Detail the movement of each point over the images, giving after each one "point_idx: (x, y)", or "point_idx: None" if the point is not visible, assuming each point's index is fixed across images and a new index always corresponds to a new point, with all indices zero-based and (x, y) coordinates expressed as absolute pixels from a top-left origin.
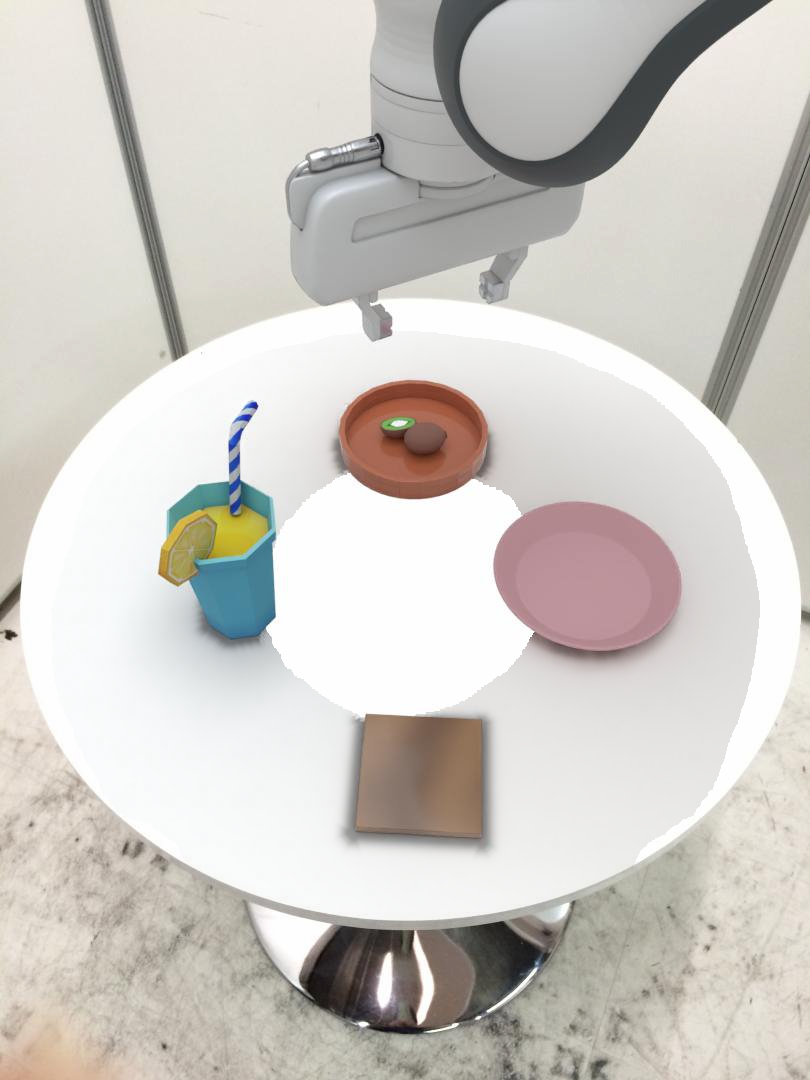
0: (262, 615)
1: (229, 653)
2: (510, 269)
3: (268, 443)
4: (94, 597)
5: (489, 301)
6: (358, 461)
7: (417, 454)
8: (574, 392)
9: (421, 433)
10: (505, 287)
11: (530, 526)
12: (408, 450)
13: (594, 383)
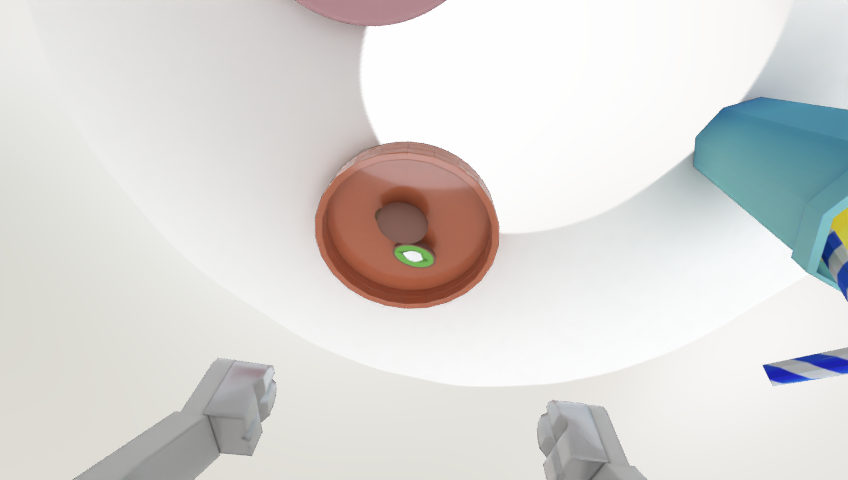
0: (772, 105)
1: (803, 95)
2: (159, 452)
3: (528, 305)
4: None
5: (269, 372)
6: (495, 236)
7: None
8: (178, 184)
9: (410, 227)
10: (207, 394)
11: (374, 5)
12: None
13: (145, 182)
